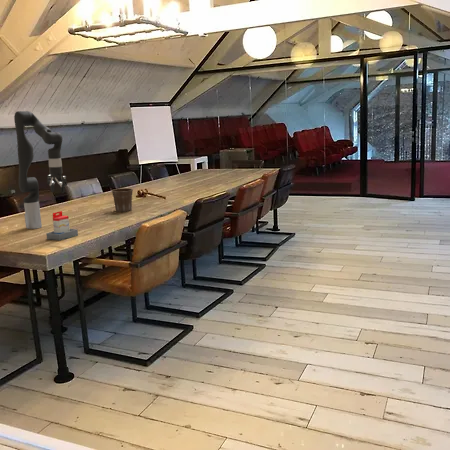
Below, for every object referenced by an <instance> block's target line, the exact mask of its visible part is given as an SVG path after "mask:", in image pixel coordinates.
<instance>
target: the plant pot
mask: <svg viewBox="0 0 450 450" xmlns="http://www.w3.org/2000/svg"><path fill="white" fill-rule="evenodd" d="M133 190H134V188H127V187H126V188H125V187H124V188H123V187H121V188H115V189H112V190H111V193H112V197H113V203H114V208H115V212H120V213H124V212H125V213H126V212H129V211H132V210H133V207H132V205H133V192H134V191H133Z"/></svg>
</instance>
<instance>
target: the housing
mask: <svg viewBox="0 0 450 450" xmlns="http://www.w3.org/2000/svg"><path fill="white" fill-rule="evenodd" d="M77 236H79V231H78V229H77V228H70V231H69V232H66V233H62V234H54V230H53V231H50V232H46V240H50V241H51V240H52V241H59V242H60V241H64V240H67V239H70V238H74V237H77Z"/></svg>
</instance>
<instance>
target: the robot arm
mask: <svg viewBox="0 0 450 450" xmlns="http://www.w3.org/2000/svg"><path fill="white" fill-rule="evenodd" d="M13 118H14V127H15V133H16V142H17V143H16V144H17V146H16V147H17V158H18V159H17V160H18V188H19V191H20V192H22V193H29V194H28V195H27V196H25V197H24V198H23V206H24V223H25V228H26V229H27V230H29V229H32V230H34V229H35V230H36V229H40V228H42V217H41V216H42V215H41V209H40V190H39V189H40V188H39V181H38V180H37V178H36V177H35V176H32V177H31V176H30V177H28V171H29V168H30V166H31V164H32V163H33V161H34V148H33V144H32V143H31V142H30V141H31V140H29V139H28V137H27V136H26V133H25V129H24V127H33V131H34V133H35V134H37V135H38V136H39V137H40V138H41V139H42V141H43V142H44V143H45V144H46V145H53V147H51V148H49V149H48V150H47V157H48V169H49V171H48V173H49V174H47V175H46V185H49V187H50V188H49V189H50V192H51V193H54V192H55V183H56V184H58V185H59V186H60V193H61V194H65V192H66V191H65V190H66V188H65V187H67V186H68V181H67V176H66V175H62V174H63V173H64V172H63V162H62V157H61V150H62V144H63V135H62V133H60V132H59V131H57V132H56V131H53V132H52V129H50V127H48V126H46V125H45V124H43V123H42V122H41V120H40V119H39V118H38V117H37V116H36V115H35V114H34V112H31V111H28V110H25V111H24V110H23V111H21V110H18V111H15V112H14V116H13Z"/></svg>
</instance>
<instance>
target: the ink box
mask: <svg viewBox="0 0 450 450" xmlns="http://www.w3.org/2000/svg"><path fill="white" fill-rule="evenodd" d="M52 224H53V231H54V234H62V233H66V232H69V231H70V229H71V228H70V220H69V215H63V211H62V210H60V211H55V212H53V213H52Z"/></svg>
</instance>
